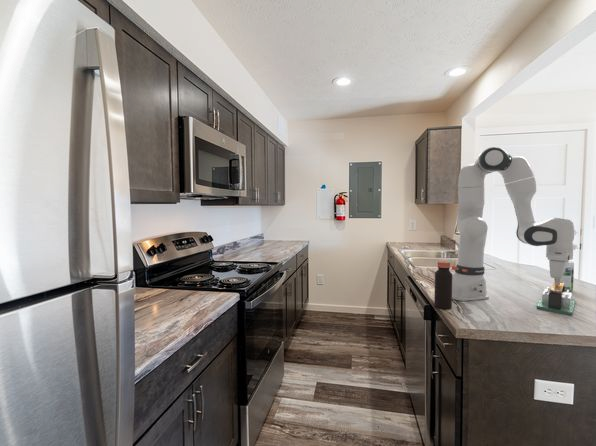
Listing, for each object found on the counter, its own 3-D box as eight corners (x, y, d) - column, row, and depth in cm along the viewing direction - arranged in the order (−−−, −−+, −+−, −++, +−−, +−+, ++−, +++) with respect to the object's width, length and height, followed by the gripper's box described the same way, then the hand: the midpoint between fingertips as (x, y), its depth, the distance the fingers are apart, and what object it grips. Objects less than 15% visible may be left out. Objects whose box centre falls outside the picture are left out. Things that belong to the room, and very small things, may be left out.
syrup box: (559, 289, 148) (560, 262, 147) (553, 286, 154) (555, 259, 153) (573, 290, 146) (574, 262, 145) (567, 287, 152) (568, 260, 151)
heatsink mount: (572, 315, 115) (573, 298, 114) (536, 308, 123) (537, 292, 122) (575, 301, 131) (575, 286, 130) (543, 296, 138) (544, 281, 138)
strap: (561, 294, 119) (562, 291, 119) (549, 292, 122) (549, 289, 122) (565, 284, 131) (565, 282, 131) (553, 283, 134) (553, 280, 134)
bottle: (444, 310, 121) (445, 264, 120) (430, 305, 128) (431, 261, 126) (455, 308, 124) (456, 262, 123) (441, 303, 130) (442, 259, 129)
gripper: (552, 250, 137) (550, 279, 138) (547, 256, 123) (545, 287, 124) (570, 252, 132) (568, 281, 133) (567, 258, 118) (565, 291, 119)
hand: (557, 284), depth 128 cm, fingers closed
